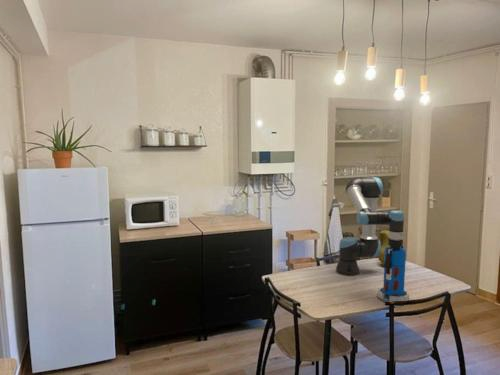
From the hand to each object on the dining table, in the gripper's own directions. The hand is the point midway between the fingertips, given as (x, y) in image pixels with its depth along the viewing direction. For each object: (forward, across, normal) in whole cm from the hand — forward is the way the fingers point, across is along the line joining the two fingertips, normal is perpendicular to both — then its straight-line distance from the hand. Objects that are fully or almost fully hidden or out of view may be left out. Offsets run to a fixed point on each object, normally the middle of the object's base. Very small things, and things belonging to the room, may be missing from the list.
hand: (394, 277), depth 216 cm
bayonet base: (+12, 0, 0) cm, 12 cm away
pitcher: (+12, +55, +33) cm, 65 cm away
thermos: (+9, 0, 0) cm, 9 cm away
